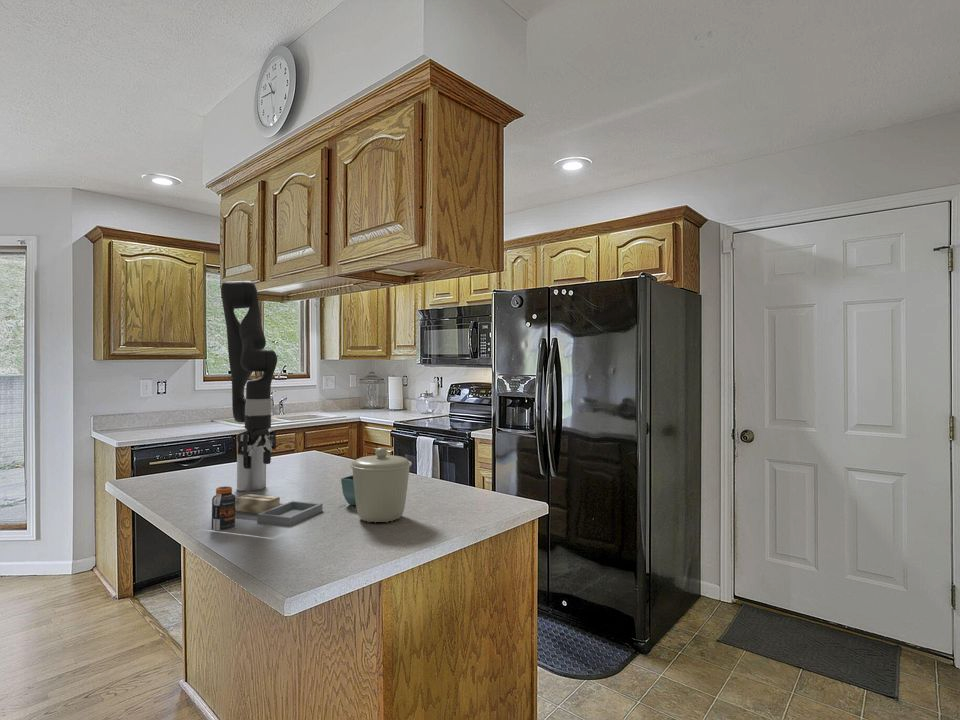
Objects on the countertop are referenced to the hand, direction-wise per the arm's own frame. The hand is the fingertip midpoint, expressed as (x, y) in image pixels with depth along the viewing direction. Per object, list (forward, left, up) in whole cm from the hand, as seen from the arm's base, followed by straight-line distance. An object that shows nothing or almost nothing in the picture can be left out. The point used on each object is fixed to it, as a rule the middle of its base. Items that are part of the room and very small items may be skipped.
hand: (257, 466), depth 169 cm
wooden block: (0, 0, -14) cm, 14 cm away
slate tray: (+2, +14, -14) cm, 20 cm away
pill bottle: (+17, +2, -14) cm, 22 cm away
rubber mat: (0, 0, -14) cm, 14 cm away
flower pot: (-18, +25, -14) cm, 34 cm away
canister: (-6, +39, -14) cm, 42 cm away
